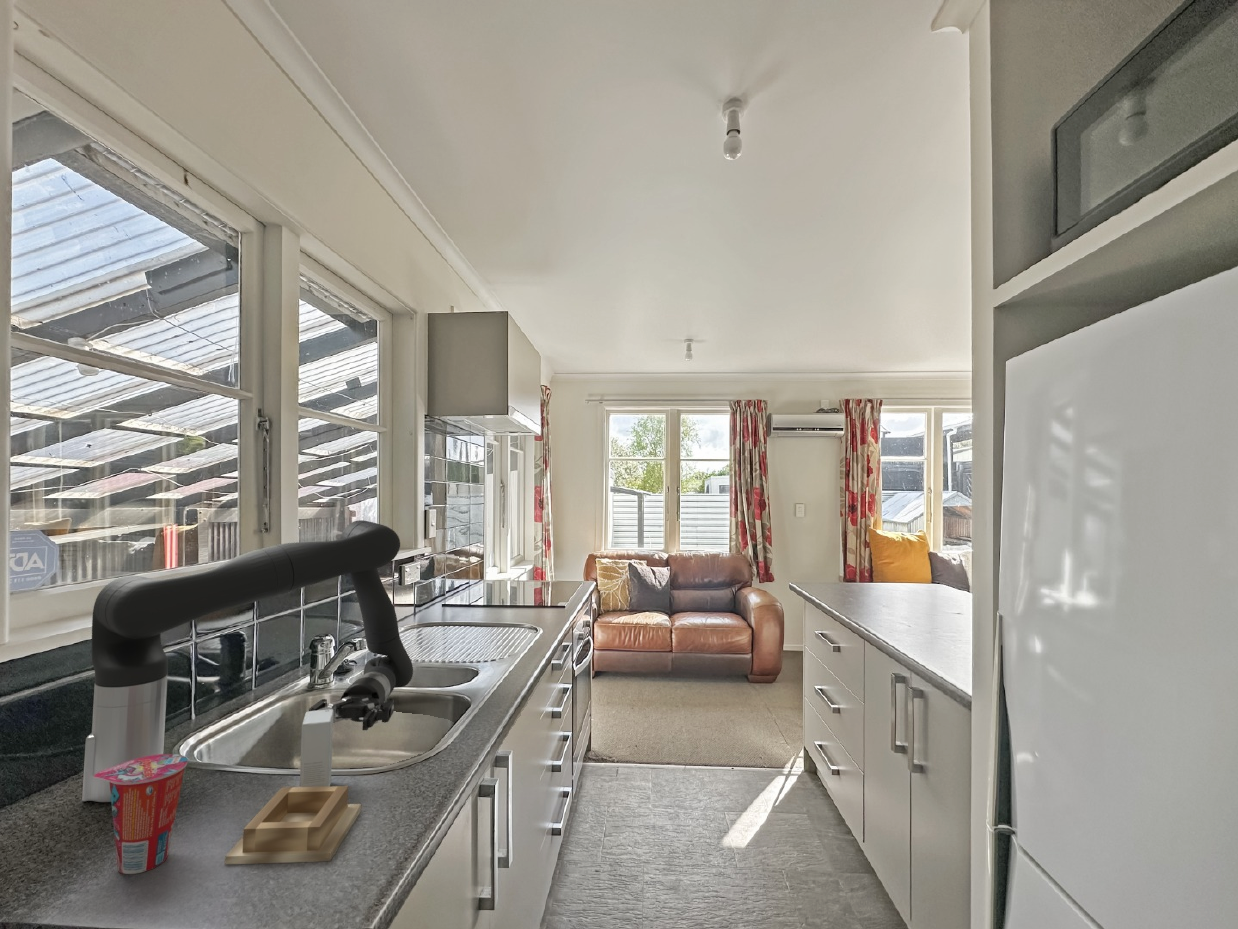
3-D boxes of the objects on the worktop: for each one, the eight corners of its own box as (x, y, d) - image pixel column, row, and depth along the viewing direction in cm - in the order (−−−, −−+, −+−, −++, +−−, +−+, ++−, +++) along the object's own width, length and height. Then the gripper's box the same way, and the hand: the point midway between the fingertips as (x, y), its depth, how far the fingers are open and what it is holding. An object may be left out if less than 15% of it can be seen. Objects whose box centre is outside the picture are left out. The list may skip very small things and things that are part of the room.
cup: (171, 837, 87) (175, 748, 87) (192, 860, 82) (197, 766, 82) (83, 866, 80) (89, 769, 80) (100, 895, 74) (106, 791, 75)
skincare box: (302, 785, 103) (305, 710, 103) (331, 782, 104) (334, 708, 105) (297, 803, 97) (301, 724, 97) (328, 799, 98) (331, 721, 99)
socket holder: (224, 864, 81) (226, 832, 81) (270, 813, 94) (271, 785, 94) (330, 861, 82) (331, 829, 82) (360, 810, 95) (362, 783, 95)
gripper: (331, 676, 127) (298, 704, 111) (403, 676, 128) (382, 703, 112) (329, 714, 127) (296, 747, 111) (402, 714, 128) (380, 746, 112)
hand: (339, 725), depth 111 cm, fingers open, 8 cm apart
